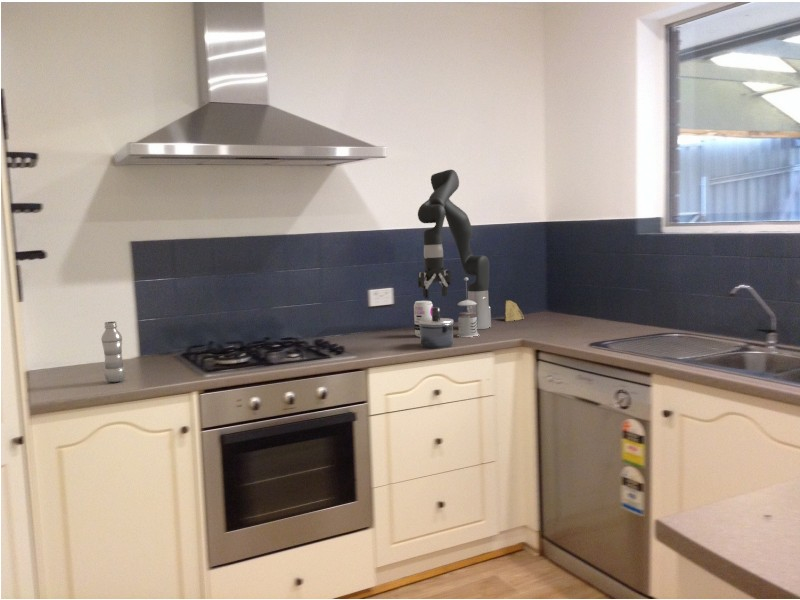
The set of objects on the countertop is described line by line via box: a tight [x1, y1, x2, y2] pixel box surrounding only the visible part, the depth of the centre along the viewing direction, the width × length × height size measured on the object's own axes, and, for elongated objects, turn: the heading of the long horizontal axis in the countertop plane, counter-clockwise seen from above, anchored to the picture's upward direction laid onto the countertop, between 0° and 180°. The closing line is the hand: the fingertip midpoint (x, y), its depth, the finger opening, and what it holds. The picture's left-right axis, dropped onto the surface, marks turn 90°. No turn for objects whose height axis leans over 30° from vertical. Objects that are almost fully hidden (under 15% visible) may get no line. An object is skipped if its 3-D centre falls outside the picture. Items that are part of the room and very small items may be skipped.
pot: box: [419, 323, 454, 349], centre depth 266 cm, size 14×17×9 cm
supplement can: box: [413, 300, 434, 338], centre depth 292 cm, size 8×8×15 cm
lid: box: [419, 306, 454, 325], centre depth 266 cm, size 14×14×6 cm
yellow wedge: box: [504, 299, 525, 322], centre depth 329 cm, size 11×9×10 cm
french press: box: [456, 276, 480, 338], centre depth 287 cm, size 10×12×25 cm
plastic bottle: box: [101, 321, 126, 383], centre depth 223 cm, size 6×7×20 cm
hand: (435, 297), depth 265 cm, fingers open, 8 cm apart
